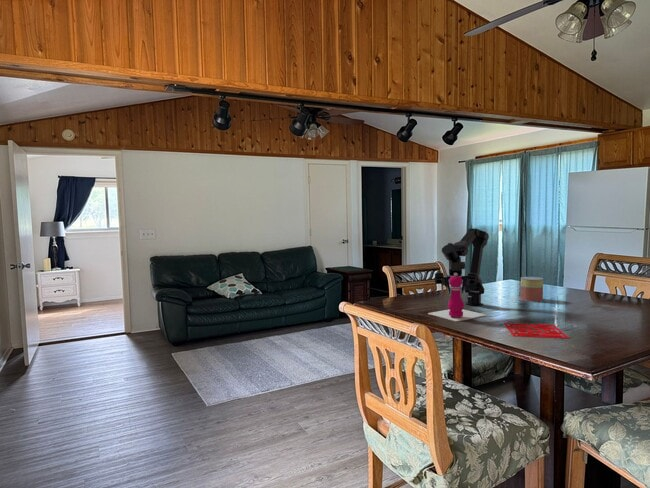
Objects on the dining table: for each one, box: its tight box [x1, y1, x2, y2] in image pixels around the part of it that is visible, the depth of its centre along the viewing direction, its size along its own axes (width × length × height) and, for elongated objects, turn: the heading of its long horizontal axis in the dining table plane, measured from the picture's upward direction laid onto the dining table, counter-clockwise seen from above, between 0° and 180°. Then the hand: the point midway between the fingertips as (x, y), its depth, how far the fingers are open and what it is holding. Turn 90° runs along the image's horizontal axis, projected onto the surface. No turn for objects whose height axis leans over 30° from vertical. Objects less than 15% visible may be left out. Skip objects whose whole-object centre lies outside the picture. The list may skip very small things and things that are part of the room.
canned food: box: [519, 276, 544, 303], centre depth 237 cm, size 11×11×12 cm
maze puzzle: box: [503, 322, 570, 339], centre depth 177 cm, size 20×20×1 cm
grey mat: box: [427, 308, 487, 323], centre depth 206 cm, size 20×18×1 cm
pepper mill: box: [447, 273, 465, 317], centre depth 199 cm, size 7×7×20 cm
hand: (455, 293), depth 198 cm, fingers closed on pepper mill, 5 cm apart
